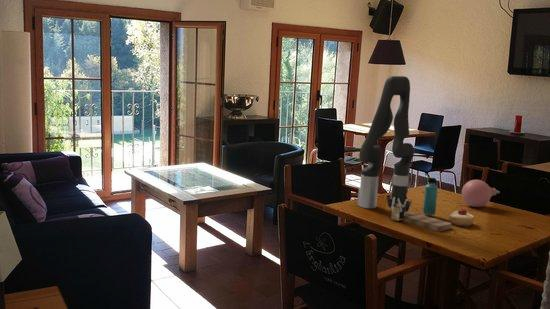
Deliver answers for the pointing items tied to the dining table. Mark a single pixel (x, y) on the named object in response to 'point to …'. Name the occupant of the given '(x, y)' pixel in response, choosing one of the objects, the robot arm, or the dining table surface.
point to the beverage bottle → (430, 197)
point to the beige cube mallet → (396, 213)
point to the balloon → (477, 193)
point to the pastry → (461, 218)
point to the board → (426, 221)
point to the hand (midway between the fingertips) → (397, 217)
